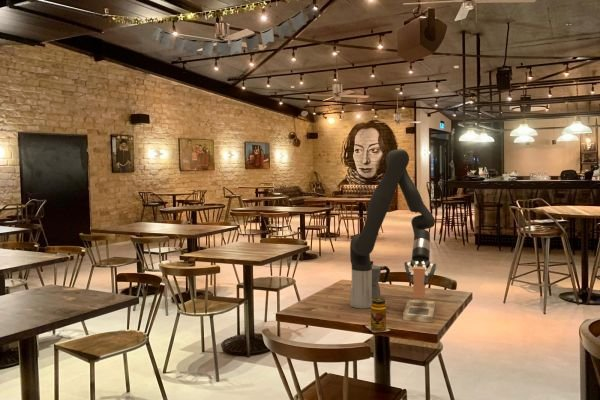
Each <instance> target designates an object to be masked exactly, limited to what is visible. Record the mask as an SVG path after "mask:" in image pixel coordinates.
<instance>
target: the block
mask: <svg viewBox="0 0 600 400" xmlns="http://www.w3.org/2000/svg"><path fill="white" fill-rule="evenodd" d="M412 269H413V281H414V284H413V285H412V286H413V287H412V289H413V290H412V291H413V293H412V294H413V297H415V298H416V297H417V298H424V297H425V295H426V286H424V279H425V267H415V266H414V268H413V267H412Z"/></svg>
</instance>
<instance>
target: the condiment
mask: <svg viewBox="0 0 600 400" xmlns="http://www.w3.org/2000/svg"><path fill="white" fill-rule="evenodd" d="M365 327H366V328H367V329H368V330H370V331H371V332H372V333H382V332H389V331H391V329H390V328H387V307H386V300H385V299H384V298H377V299H373V300H372V306H371V307H370V324H369V325H365Z"/></svg>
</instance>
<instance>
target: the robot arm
mask: <svg viewBox="0 0 600 400" xmlns="http://www.w3.org/2000/svg"><path fill="white" fill-rule="evenodd" d="M385 163H386V165H387V167H386V170H385V173H384V175H383V177H382V178H381V180H380V181H379V183H378V184H377V185H376V187H375V189H374V190H373V192H372V194H371V196H370V200H369V202H368V205H367V209H366V217H365V222H364V225H363V228H362V230H361V232H360V233H357V234H355V235H354V236H352V238H351V240H350V243H349V247H350V248H349V253H350V254H349V256H350V258H349V259H350V265H351V285H350V301H349V302H350V307H351V308H356V309H371V306H372V264H371V261H372V260H371V256H370V254H372V252H373V251H374V248H375V246H376V242H377V239H378V235H379V231H380V229H381V226H382V224H383V223H384V220H385V218H386V215H387V212H388V211H389V209H390V206H391V204H392V202H393V199H394V195H395V194H396V190H397V187H398V186H399V188H400V190H401V192H402V195H403V198H404V201H405V202H406V204H407V206H408V209H409V211H410V212H411V213H419V214H420V215H418V214H417V215H416V216H413V218H412V219H411V223H410V224H411V226H412V231H413V242H412V243H413V244H412V252H411V253H412V255H411V260H410V262H407V261H405V262H404V269H405V272H406V276H407V277H410V281H409V283H410V284H411V285H412V286H413V284H414V281H413V268H414V266H415V267H425V279H424V286H425V287H426V286H427V285H428V283H429V278H432V279H433V276H434V274H435V271H436V270H437V264H436V263H431V261H430V258H431V257H430V255H431V246H430V245H431V244H430V243H431V234H430V232H429V231H428V229H433V227H434V226H435V224H436V220H435V217H434V215H433V213H431V211H429V209H428V207H427V206H426V205H425V204H424V201H423V198H422V196H421V194H420V191H419V189H418V188H417V186H416V185H415V183H414V182H413V180H412V179H411V177H410V175H409V173H408V170H407V168H408V165H409V163H410V155H409V153H408V152H407V151H406V150H404V149H401V148H399V149H398V148H396V149H393V150H390V151H389V152H388V153H387V154H386V156H385ZM410 267H411V268H412V270H411V271H410V269H409V268H410ZM429 268H430V271H429V272H428V269H429Z"/></svg>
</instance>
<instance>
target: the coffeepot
mask: <svg viewBox="0 0 600 400" xmlns="http://www.w3.org/2000/svg"><path fill="white" fill-rule="evenodd" d="M370 261H371V264H372V300H373V299H377V298H379V299H381V298H382V294H381V293H382V292H381V288H380V284H379V281H380V278H381V273H382V271H385V276H384V277H383V280H381V281H380V282H381V283H382V284H384V283H387V280H388V278H389V275H390V272H391V269H390V268H389V267H388V266H386V265H382V266H381V265H376V264H374V261H373V260H370Z"/></svg>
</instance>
